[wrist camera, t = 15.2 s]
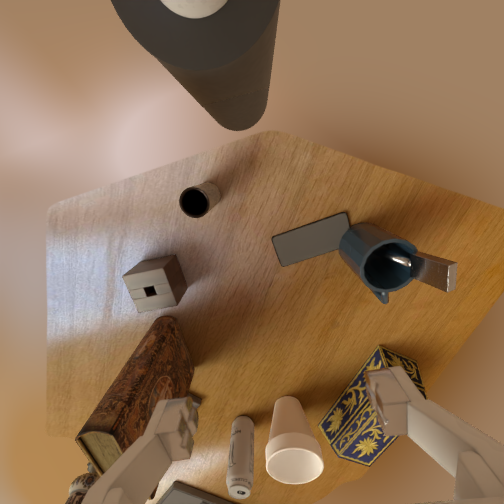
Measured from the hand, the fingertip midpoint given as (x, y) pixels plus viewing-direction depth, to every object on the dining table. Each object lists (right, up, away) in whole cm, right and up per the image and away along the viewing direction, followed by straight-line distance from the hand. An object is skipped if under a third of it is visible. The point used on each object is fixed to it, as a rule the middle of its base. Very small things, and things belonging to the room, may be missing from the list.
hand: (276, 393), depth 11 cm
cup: (+8, -34, +52) cm, 62 cm away
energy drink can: (-4, -40, +54) cm, 68 cm away
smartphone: (+11, +9, +37) cm, 39 cm away
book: (-20, -16, +46) cm, 52 cm away
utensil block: (-20, +2, +39) cm, 44 cm away
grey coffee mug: (+21, +6, +37) cm, 43 cm away
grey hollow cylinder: (-9, +17, +34) cm, 39 cm away
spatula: (+20, +8, +35) cm, 42 cm away
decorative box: (+28, -30, +50) cm, 64 cm away
